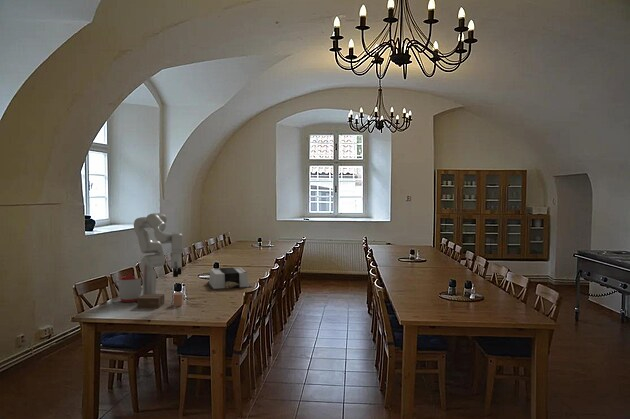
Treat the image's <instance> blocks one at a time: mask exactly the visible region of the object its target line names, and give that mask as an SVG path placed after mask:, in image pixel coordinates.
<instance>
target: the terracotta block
mask: <svg viewBox="0 0 630 419" xmlns="http://www.w3.org/2000/svg"><path fill="white" fill-rule="evenodd" d="M184 294H185V293H184V292H174V293H173V294H172V306H173V307H182V306H184V304H185V303H184V302H185V300H184V299H185V298H184Z"/></svg>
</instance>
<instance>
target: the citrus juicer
mask: <svg viewBox="0 0 630 419" xmlns="http://www.w3.org/2000/svg"><path fill="white" fill-rule="evenodd" d="M142 284H143V280H142V275H141V276H138V277H137V278H136V276H135V275H133V274H132V273H127V275H124V276H120V277H118V293H119V298H120V300H121V302H123V303H128V304H129V303H133V302H137V298H139V297H140V296H141V292H142Z"/></svg>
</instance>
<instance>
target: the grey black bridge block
mask: <svg viewBox="0 0 630 419" xmlns="http://www.w3.org/2000/svg"><path fill="white" fill-rule="evenodd" d="M208 279H209V280H208V281H207V282H208V283H207V282H206V284H207V286H208V287H209V288H210V289H211V290H233V289H244V288H246V289H248V288H252V285H250V282H249V275H248V272H247V271H246V270H244V269H243V268H242V267H219V268H210V270H209V278H208Z"/></svg>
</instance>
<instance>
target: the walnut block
mask: <svg viewBox="0 0 630 419" xmlns="http://www.w3.org/2000/svg"><path fill="white" fill-rule="evenodd" d="M136 302H137V304H136V305H137V309H160V308H161V307H162V306H164V305H165V294H164V293H156V294H144V295H143V294H142V295H140V297H139V298H137V301H136Z"/></svg>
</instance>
